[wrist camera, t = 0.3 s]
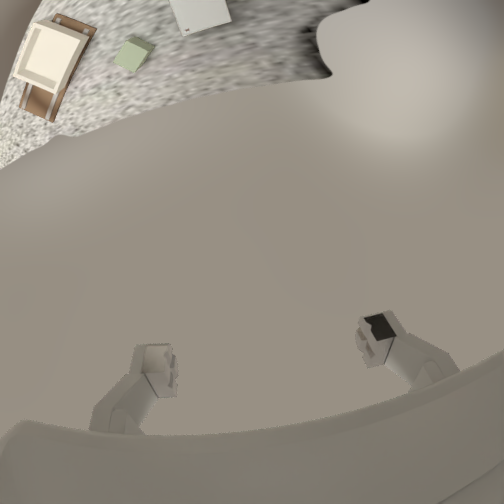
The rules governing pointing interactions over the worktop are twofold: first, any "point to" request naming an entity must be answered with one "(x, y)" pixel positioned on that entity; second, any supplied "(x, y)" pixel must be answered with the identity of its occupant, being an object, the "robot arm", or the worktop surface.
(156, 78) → the worktop surface
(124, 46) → the block
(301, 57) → the worktop surface
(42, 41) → the square white tray
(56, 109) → the track
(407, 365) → the robot arm
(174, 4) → the supplement box
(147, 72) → the worktop surface
